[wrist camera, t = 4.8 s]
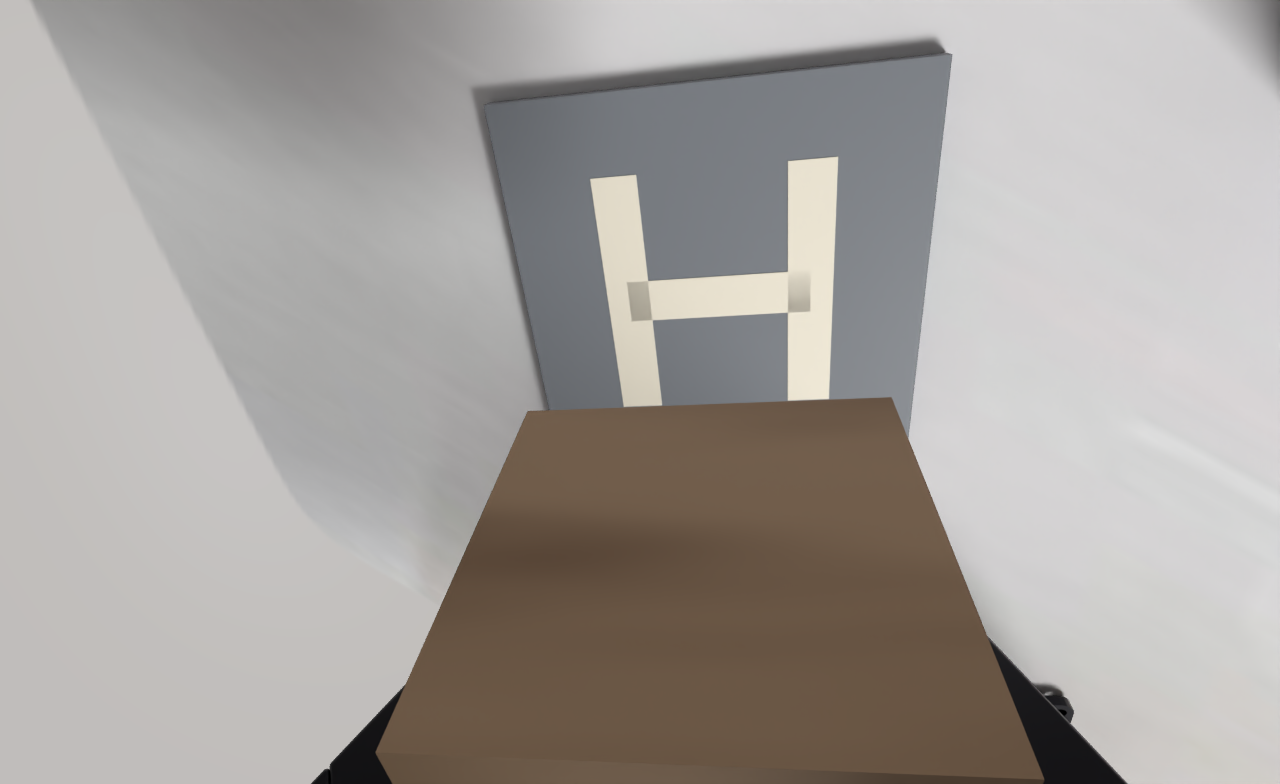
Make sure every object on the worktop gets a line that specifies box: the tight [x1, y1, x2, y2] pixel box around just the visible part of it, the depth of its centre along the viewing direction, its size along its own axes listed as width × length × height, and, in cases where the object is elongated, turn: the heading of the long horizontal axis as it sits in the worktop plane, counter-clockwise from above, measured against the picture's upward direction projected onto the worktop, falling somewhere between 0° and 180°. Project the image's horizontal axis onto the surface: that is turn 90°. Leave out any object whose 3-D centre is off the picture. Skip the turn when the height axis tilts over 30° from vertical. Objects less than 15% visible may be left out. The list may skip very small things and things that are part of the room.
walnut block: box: [375, 397, 1044, 784], centre depth 8 cm, size 5×5×5 cm
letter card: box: [484, 53, 952, 437], centre depth 19 cm, size 11×11×1 cm
